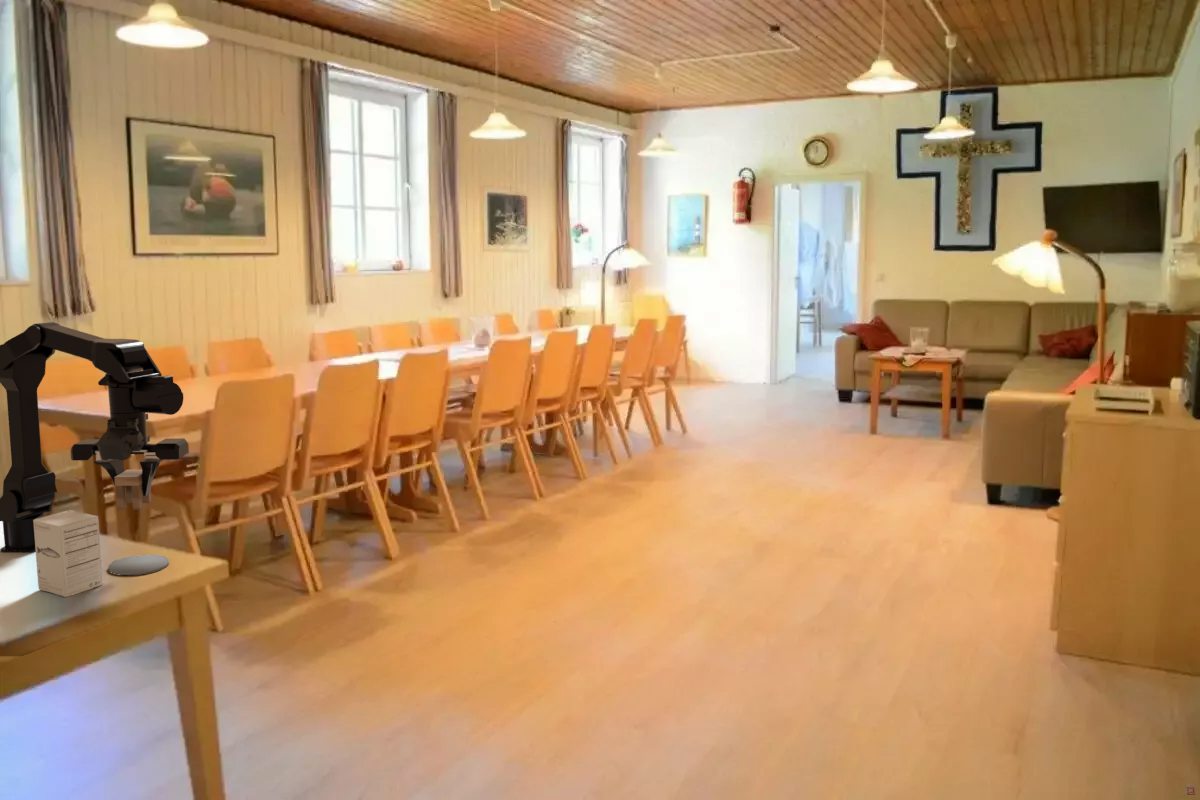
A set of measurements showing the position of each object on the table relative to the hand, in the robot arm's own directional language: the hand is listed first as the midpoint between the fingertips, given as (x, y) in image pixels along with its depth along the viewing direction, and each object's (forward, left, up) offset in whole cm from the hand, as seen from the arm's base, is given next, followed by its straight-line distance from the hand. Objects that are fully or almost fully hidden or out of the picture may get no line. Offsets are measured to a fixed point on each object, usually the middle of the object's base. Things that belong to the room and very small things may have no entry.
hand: (134, 495), depth 181 cm
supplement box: (-7, -11, -14) cm, 19 cm away
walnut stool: (0, 0, -2) cm, 2 cm away
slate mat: (0, 0, -13) cm, 13 cm away
